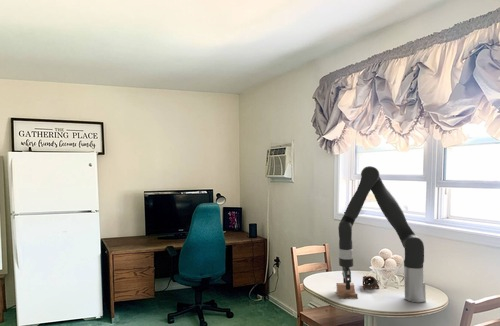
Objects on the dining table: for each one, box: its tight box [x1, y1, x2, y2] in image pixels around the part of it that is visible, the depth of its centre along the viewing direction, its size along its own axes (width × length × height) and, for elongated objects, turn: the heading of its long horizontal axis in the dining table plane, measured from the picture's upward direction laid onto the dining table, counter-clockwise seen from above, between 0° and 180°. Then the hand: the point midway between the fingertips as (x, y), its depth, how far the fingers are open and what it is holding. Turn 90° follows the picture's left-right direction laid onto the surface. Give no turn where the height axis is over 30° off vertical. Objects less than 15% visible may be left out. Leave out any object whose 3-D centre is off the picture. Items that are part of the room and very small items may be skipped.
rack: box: [337, 288, 359, 300], centre depth 194 cm, size 10×10×2 cm
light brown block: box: [336, 282, 355, 295], centre depth 194 cm, size 9×4×5 cm, turn 84°
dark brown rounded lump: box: [362, 275, 380, 291], centre depth 204 cm, size 12×10×8 cm
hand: (346, 286), depth 194 cm, fingers open, 8 cm apart
